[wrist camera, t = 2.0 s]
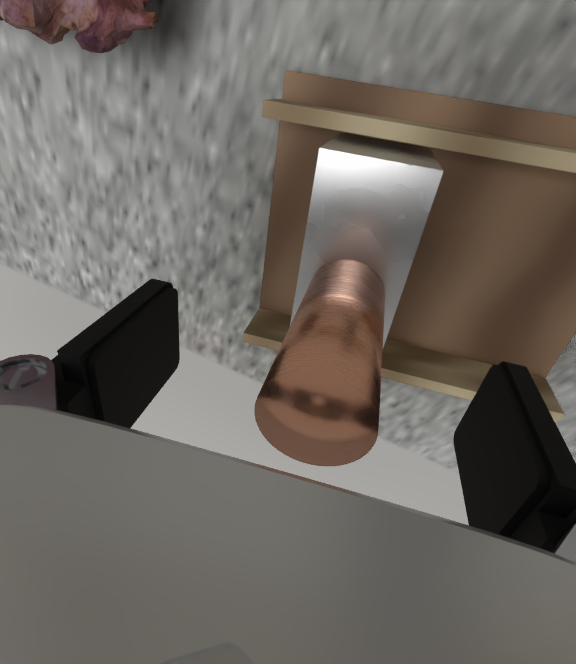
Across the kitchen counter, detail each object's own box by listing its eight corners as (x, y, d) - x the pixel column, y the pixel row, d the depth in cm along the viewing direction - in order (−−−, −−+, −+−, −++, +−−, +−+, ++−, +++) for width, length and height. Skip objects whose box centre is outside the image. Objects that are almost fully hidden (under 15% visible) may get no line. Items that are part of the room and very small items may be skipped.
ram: (429, 148, 17) (488, 242, 6) (371, 333, 22) (349, 553, 12) (341, 133, 17) (252, 193, 7) (306, 317, 23) (226, 514, 12)
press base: (682, 134, 16) (769, 146, 12) (523, 383, 24) (547, 436, 20) (292, 72, 18) (266, 66, 14) (263, 319, 26) (241, 356, 22)
